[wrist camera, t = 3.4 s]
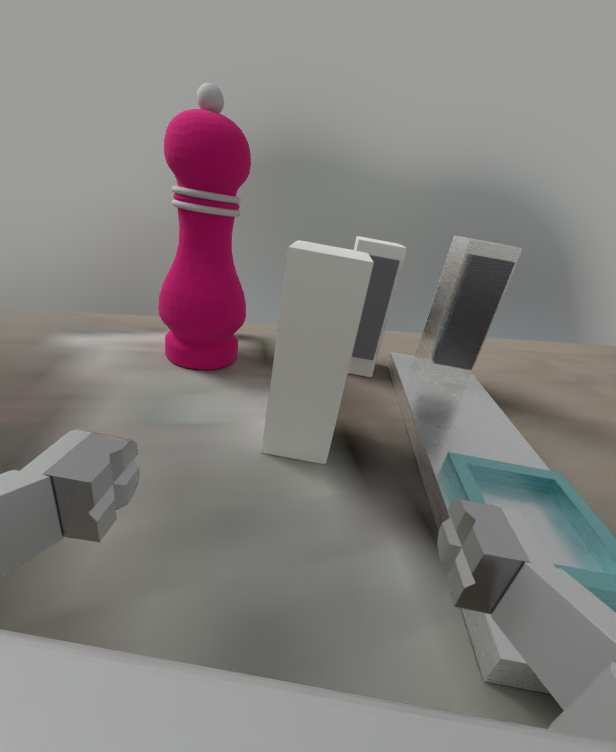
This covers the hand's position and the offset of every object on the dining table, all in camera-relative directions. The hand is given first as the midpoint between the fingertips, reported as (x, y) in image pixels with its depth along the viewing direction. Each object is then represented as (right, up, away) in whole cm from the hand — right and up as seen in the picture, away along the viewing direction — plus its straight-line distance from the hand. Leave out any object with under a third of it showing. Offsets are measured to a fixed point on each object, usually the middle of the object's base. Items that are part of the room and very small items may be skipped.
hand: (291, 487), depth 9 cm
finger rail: (+12, -3, +16) cm, 20 cm away
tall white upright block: (0, -1, +14) cm, 14 cm away
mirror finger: (+5, +4, +27) cm, 27 cm away
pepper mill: (-9, +5, +23) cm, 26 cm away
